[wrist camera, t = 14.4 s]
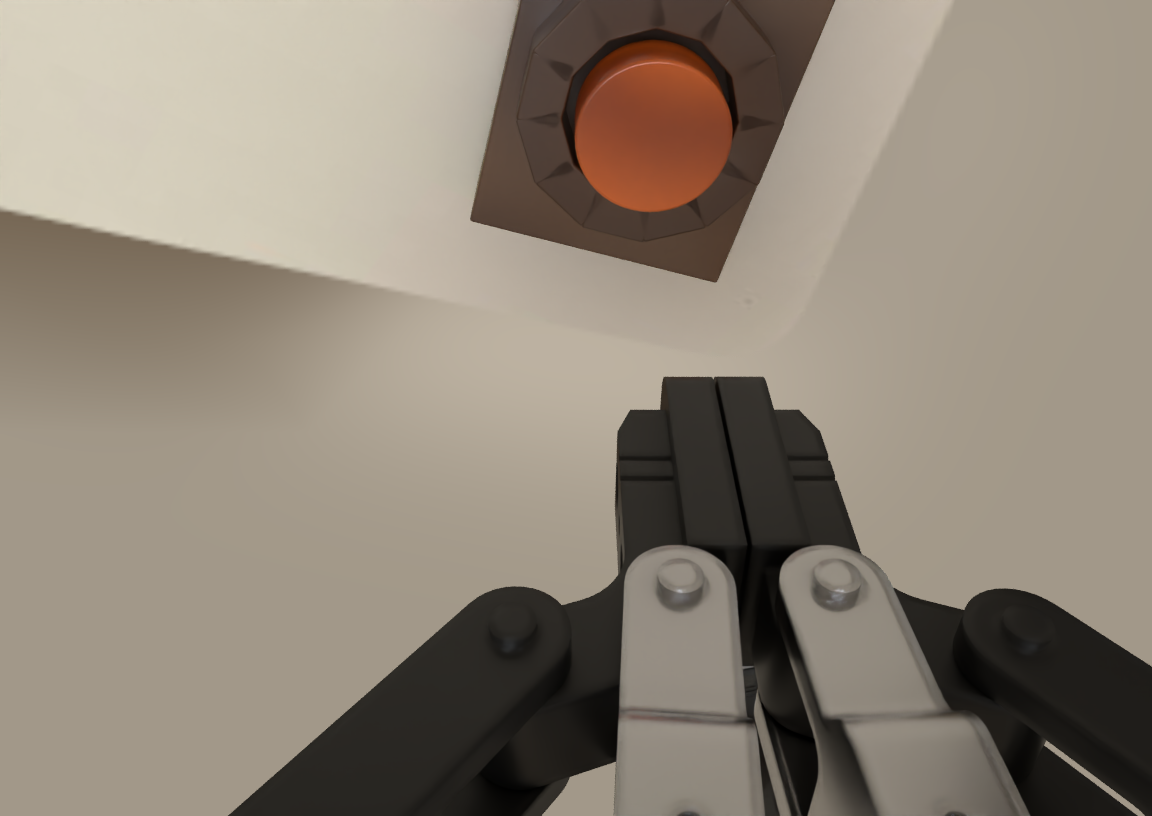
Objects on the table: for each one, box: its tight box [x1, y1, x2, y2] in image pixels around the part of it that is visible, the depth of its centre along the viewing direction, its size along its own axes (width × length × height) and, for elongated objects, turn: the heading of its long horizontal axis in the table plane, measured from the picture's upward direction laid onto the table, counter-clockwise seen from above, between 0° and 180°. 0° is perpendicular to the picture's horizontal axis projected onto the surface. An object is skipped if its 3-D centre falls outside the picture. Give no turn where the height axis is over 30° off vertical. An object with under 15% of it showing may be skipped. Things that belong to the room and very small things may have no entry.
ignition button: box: [575, 40, 733, 212], centre depth 24 cm, size 4×4×2 cm
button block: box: [470, 0, 835, 282], centre depth 26 cm, size 10×8×4 cm
